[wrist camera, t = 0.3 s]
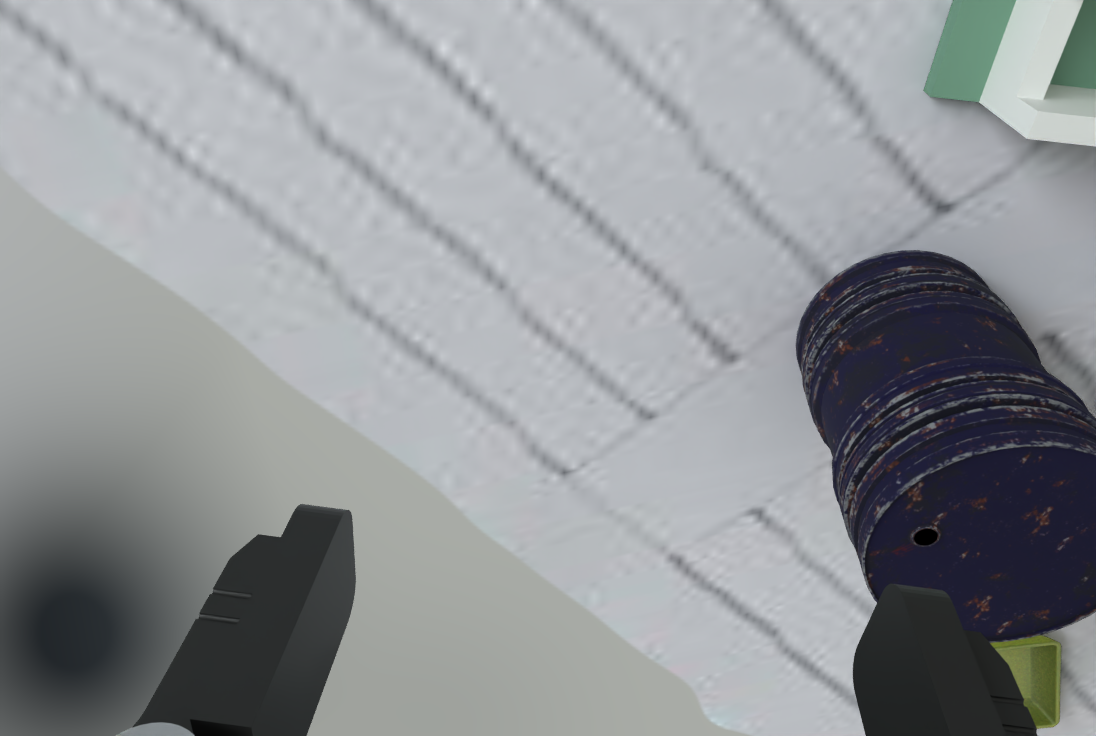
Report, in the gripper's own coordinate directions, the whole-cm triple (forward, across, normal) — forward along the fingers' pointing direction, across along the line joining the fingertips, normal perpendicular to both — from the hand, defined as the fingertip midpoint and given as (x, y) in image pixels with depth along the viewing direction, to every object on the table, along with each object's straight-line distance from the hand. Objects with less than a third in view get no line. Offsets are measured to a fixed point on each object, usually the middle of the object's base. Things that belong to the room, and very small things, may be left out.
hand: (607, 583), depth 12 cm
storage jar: (+29, -15, +11) cm, 34 cm away
